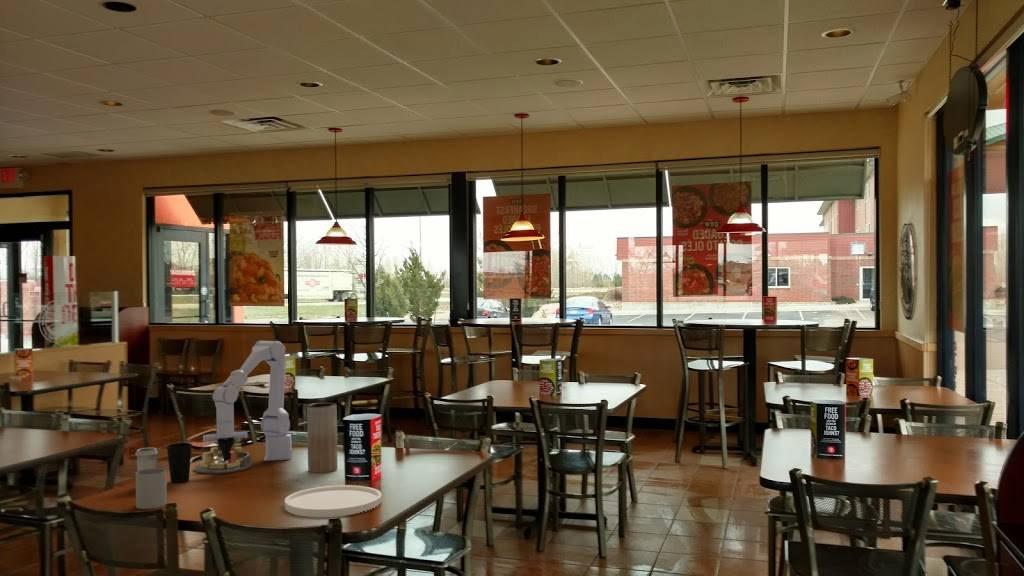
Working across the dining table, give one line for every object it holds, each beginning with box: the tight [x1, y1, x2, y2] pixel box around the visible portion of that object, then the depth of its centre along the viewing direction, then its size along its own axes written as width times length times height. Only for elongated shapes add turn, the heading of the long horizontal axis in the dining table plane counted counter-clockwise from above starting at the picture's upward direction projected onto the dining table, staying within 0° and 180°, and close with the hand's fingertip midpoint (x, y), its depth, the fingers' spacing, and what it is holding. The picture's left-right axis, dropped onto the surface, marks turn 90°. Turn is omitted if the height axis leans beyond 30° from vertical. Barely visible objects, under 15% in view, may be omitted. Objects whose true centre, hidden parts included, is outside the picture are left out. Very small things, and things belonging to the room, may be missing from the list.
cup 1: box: [135, 447, 159, 471], centre depth 271 cm, size 7×7×12 cm
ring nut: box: [199, 446, 243, 469], centre depth 297 cm, size 15×15×5 cm
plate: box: [284, 484, 383, 518], centre depth 247 cm, size 28×28×2 cm
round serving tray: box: [194, 450, 252, 475], centre depth 297 cm, size 19×19×4 cm
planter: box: [306, 402, 338, 474], centre depth 292 cm, size 10×10×23 cm
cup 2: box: [135, 467, 168, 510], centre depth 248 cm, size 8×8×10 cm
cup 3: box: [166, 442, 193, 484], centre depth 278 cm, size 8×8×12 cm
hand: (225, 460), depth 292 cm, fingers closed
